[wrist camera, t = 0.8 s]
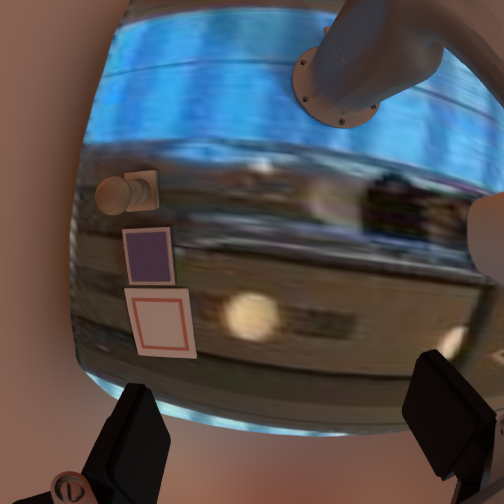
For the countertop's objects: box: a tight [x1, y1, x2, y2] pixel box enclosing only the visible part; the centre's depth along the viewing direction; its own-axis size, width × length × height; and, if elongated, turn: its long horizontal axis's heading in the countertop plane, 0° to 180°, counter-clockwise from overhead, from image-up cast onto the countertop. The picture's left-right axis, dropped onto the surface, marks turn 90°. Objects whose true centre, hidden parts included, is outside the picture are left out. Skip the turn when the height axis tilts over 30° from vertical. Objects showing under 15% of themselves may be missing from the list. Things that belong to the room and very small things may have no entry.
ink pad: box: [122, 226, 177, 285], centre depth 37 cm, size 8×7×2 cm
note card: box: [124, 288, 197, 358], centre depth 40 cm, size 12×10×1 cm
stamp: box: [95, 170, 160, 215], centre depth 30 cm, size 5×4×12 cm
